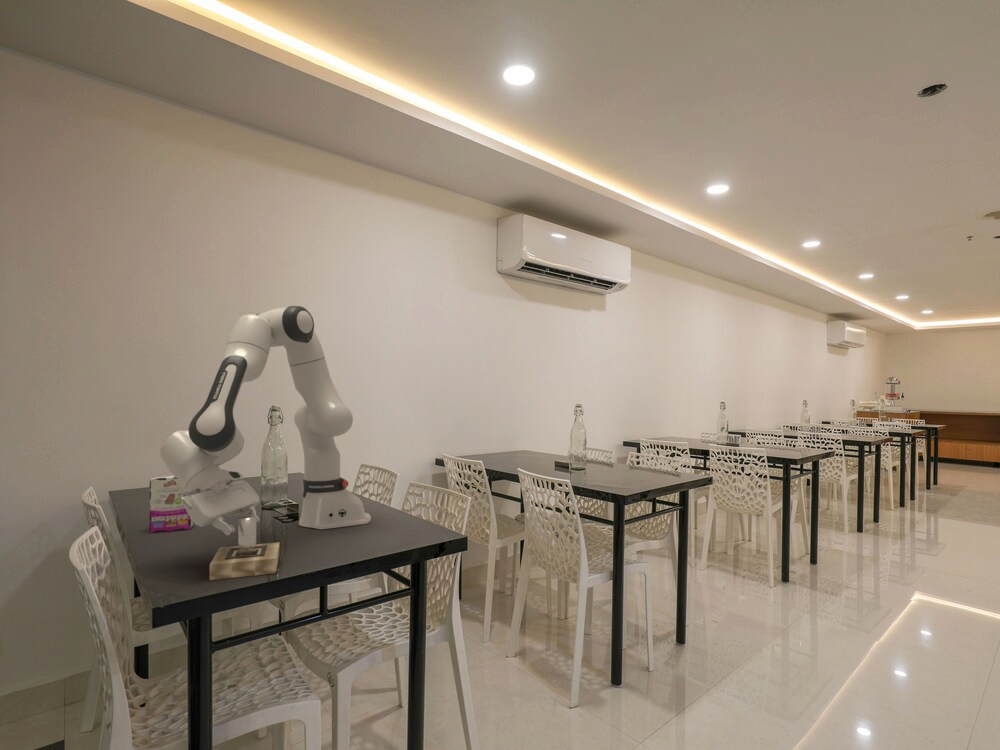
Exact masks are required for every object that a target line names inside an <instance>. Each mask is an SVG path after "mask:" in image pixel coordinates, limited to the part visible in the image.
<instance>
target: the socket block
mask: <svg viewBox="0 0 1000 750" xmlns="http://www.w3.org/2000/svg"><path fill="white" fill-rule="evenodd" d="M280 546H281V545H280V542H270V543H269V542H268V543H258V544H257V543H256V554H255V555H244V556H238V545H231V546H222V547H221V546H220V547H219V548H218V550H217V551H216V553H215V555H214V557H213V559H212V560H211V561H210V563H209V581H213V580H223V579H232V578H233V579H234V578H242V577H253V576H262V575H263V576H264V575H273V574H276V573H277V570H278V564H279V560H280Z"/></svg>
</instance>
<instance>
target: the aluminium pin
mask: <svg viewBox="0 0 1000 750" xmlns="http://www.w3.org/2000/svg"><path fill="white" fill-rule="evenodd" d="M237 519H238V520H237V521H238V527H237V528H238V530H237V533H238V535H237V537H238V539H237V546H238V556H244V555H255V554H256V544H257V524H256V516H248V515H245V516H241V517H238V518H237Z"/></svg>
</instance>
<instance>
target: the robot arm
mask: <svg viewBox="0 0 1000 750" xmlns="http://www.w3.org/2000/svg"><path fill="white" fill-rule="evenodd" d="M282 346H283V348H285V352H286V357H287V362H288V365H289V369H290V373H291V376H292V381H293V384H294V388H295V389H296V391H297V393H299V395H301V398H302V399H303V401H304V404H301V405H300V406H299V407H297V409H296V410H295V412H294V416H293V417H294V418H293V420H294V424H295V426H296V427H297V429H298V432H299V435H300V440H301V445H302V449H303V458H304V462H303V463H304V467H303V469H304V471H303V472H304V473H303V475H304V479H303V480H302V484H301V485H302V491H301V493H302V497H303V498H302V499H303V501H302V507H301V513H300V518H299V522H298V526H301V527H303V528H313V529H317V530H327V529H338V528H342V527H343V528H344V527H351V526H352V527H353V526H361V525H367V524H369V523H370V522H371V521H372V516H371V515H370V514H369V512H365V506H364V503H363V501H362V500H361V499H360V497H359V496H357V495H355V494H354V493H352V492H351V491H350V490H348V489H347V487H348V486H349V481H348V480H347V479H345V478H342V477H341V453H340V451H339V449H338V448H337V445H336V442H335V439H334V437H335V438H336V437H339V436H342V435H344V434H346V433H347V432H349V430H350V429H352V425H353V421H354V418H353V413H352V411H351V410H350V408H348V406H347V405H345V403H344V402H343V400H342V398H341V397H340V395H339V393H338V391H337V389H336V387H335V386H334V382H333V381H332V378H331V375H330V372H329V368H328V364H327V360H326V357H325V353H324V350H323V347H322V344H321V341H320V339H319V337H318V335H317V333H316V332H315V322H314V317H313V315H312V314H311V313H310V312H309V310H307V308H305V307H304V306H299V305H289V306H287V307H278V308H277V307H276V308H272V309H270V310H268V311H264V312H262V313H261V312H260V313H256V314H253V313H252V314H250V313H249V314H244V315H242V316H240V317H239V318H238V320H237V321H236V322H235V324H234V326H233V328H232V329H231V332H230V334H229V336H228V339H227V342H226V344H225V348H224V351H223V355H222V359H221V362H220V365H219V368H218V370H217V372H216V376H215V378H214V380H213V383H212V385H211V388H210V391H209V392H208V396H207V398H206V401H205V402H204V404H203V405H202V407H201V408H200V409H199V410H198V411H197V413H196V414H195V415H193V418H192V419H191V421H190V423H189V427H188V430H177V431H174V432H172V433H171V434H170V435H168V436H167V437H166V438H165V439H164V441H163V442H162V444H161V446H160V449H159V454H160V458H161V459H162V461H163V463H164V464H165V466H166V467H167V468H168V470H169V471H170V473H171V474H172V476H175V477H176V478H178V479H179V480H180V481H181V482H182V483H183V486H184V488H185V489H186V491H187V492H185V493H183V494H182V496H181V501H182V502H183V504H184V505H185V509H186V511H187V513H188V514H189V516H190V518H191V519H192V521H193V524H194V525H195V526H197V527H200V528H204V527H206V526H209V525H210V526H211V525H212V526H213V528H215V529H218V530H219V531H222V532H223V533H224V534H225V536H230V535H232V534H233V533H234V532H235V531H236V528H235V527H234V526H233V524H228V523H227V522H226V521H224V520H226V519H229V518H232V517H235V516H238V515H242V514H243V513H244V514H245V516H256V525H257V524H258V523H260V520H261V518H259V517H258V515H257V512H256V507H257V506H258V505H259V503H261V501H260V499H261V498H260V496H259V495H258V493H257V492H256V490H255V489H254V488H253V487H252V486H251V485H250V484H249V483H248V482H247V481H245V480H243V478H244V475H242V473H240V472H238V471H234V470H233V471H232V470H231V471H230V470H227V469H223V468H221V467H220V465H223V464H225V463H227V462H229V461H230V460H232V459H234V458H235V457H237V456H238V454H240V453H241V451H242V450H243V447H244V444H245V440H244V436H243V434H242V432H241V430H240V429H239V428H238V426H237V425H236V423H235V418H234V408H235V406H236V402H237V399H238V397H239V395H240V391H241V389H242V386H243V384H244V383H249V382H250V383H251V382H253V381H255V380H257V379H259V378H260V377H261V375H262V373H263V371H264V369H265V367H266V365H267V362H268V359H269V354H270V350H271V348H275V347H276V348H277V347H282Z"/></svg>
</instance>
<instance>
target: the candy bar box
mask: <svg viewBox="0 0 1000 750" xmlns="http://www.w3.org/2000/svg"><path fill="white" fill-rule="evenodd" d="M185 492H187V491H186V489H185V488H184V486H183V483H182V482H181V481H180V480H179V479H178V478H176V477H175V476H174V475H162V476H152V477H151V478H149V530H148V531H149V533H150V534H151V533H154V532H155V533H163V532H164V533H165V531H166V532H175V531H185V530H191V529H192V528H193V526H194V522H193V521H192V519H191V518H190V516H189V514H188V513H187V511H186V509H185V505H184V504H183V502H182V501H181V496H182V494H183V493H185Z"/></svg>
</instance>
